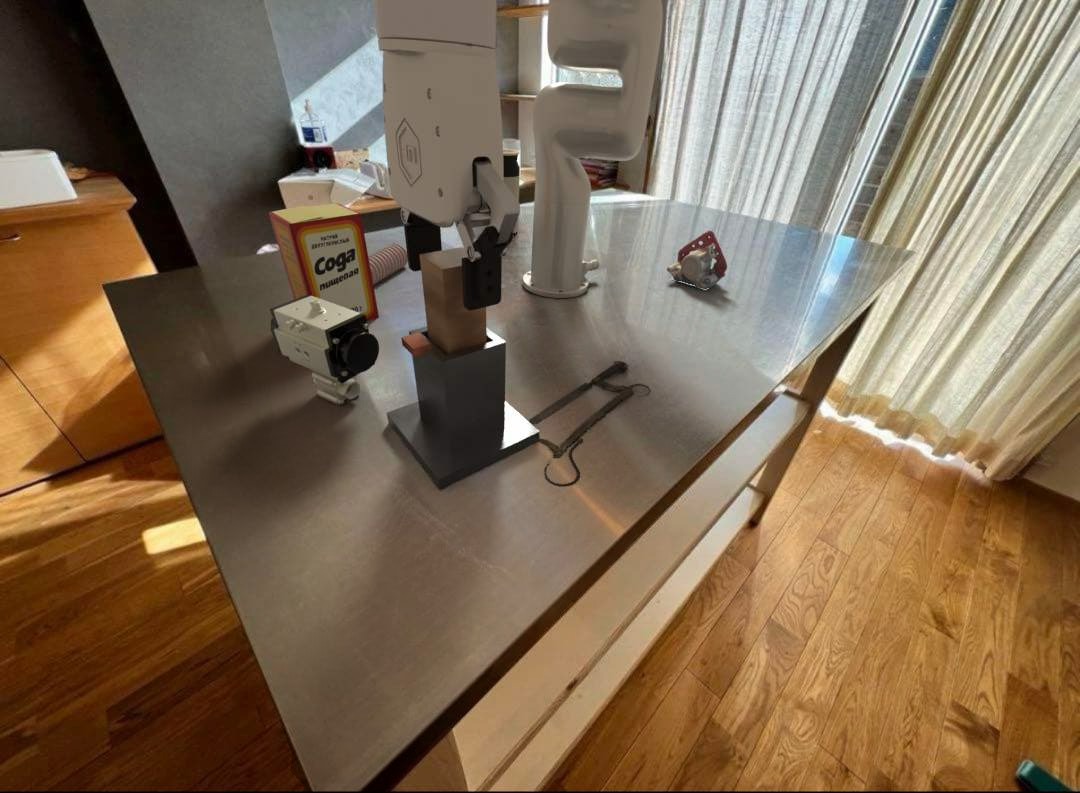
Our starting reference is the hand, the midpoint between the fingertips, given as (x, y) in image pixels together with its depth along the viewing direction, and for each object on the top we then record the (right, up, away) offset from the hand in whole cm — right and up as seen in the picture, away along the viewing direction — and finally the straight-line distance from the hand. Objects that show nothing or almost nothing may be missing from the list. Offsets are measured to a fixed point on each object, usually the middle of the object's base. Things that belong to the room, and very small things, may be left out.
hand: (452, 285), depth 37 cm
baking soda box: (-24, +2, +30) cm, 38 cm away
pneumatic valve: (-17, -10, +14) cm, 24 cm away
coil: (-23, +12, +44) cm, 51 cm away
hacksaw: (+14, -12, +15) cm, 24 cm away
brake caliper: (+39, +13, +52) cm, 66 cm away
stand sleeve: (-1, -14, +11) cm, 17 cm away
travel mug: (-2, +32, +73) cm, 79 cm away
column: (-1, -12, +9) cm, 15 cm away
